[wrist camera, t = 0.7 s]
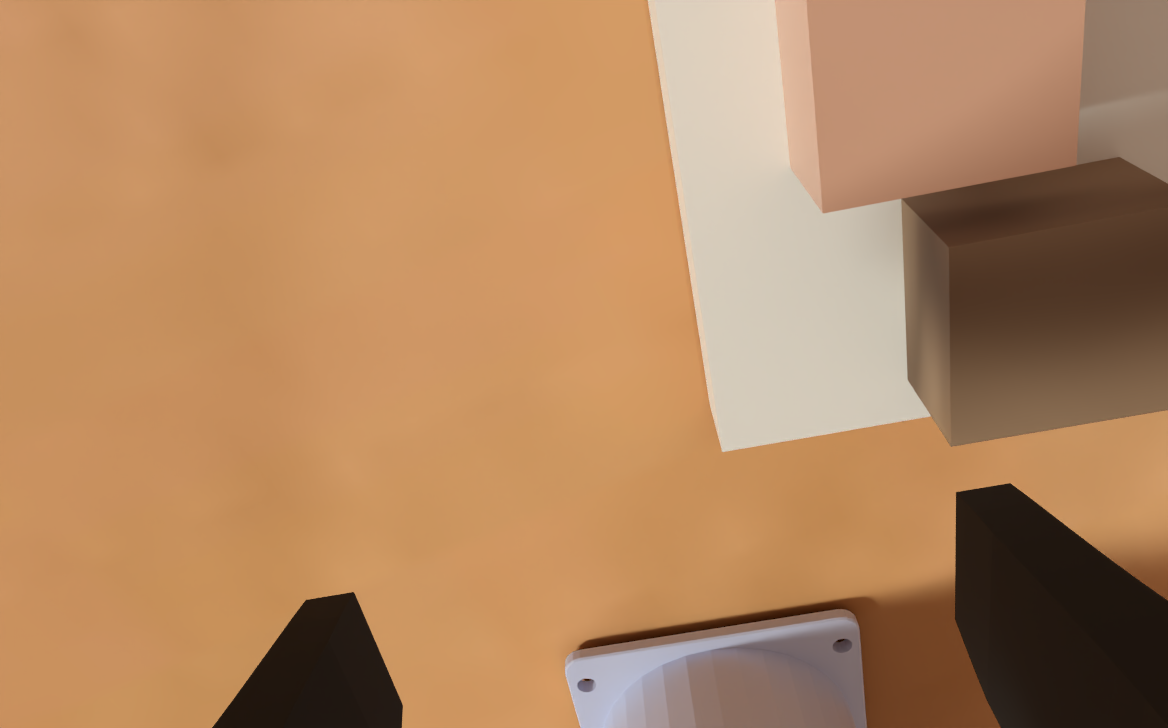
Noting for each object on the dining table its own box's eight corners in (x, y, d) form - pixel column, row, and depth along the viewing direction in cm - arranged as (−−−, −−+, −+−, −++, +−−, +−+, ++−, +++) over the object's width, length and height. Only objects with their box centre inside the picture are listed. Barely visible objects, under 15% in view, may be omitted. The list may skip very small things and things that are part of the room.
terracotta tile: (1010, 125, 17) (1076, 165, 15) (790, 168, 17) (822, 213, 15) (1015, -119, 15) (1092, -113, 13) (768, -66, 16) (802, -52, 13)
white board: (1102, 335, 21) (1150, 378, 20) (709, 404, 22) (722, 452, 20) (1145, -223, 16) (1215, -233, 15) (630, -111, 17) (638, -107, 15)
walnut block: (1104, 345, 19) (1174, 409, 17) (908, 379, 20) (950, 446, 17) (1119, 156, 17) (1199, 200, 15) (900, 198, 18) (948, 247, 16)
